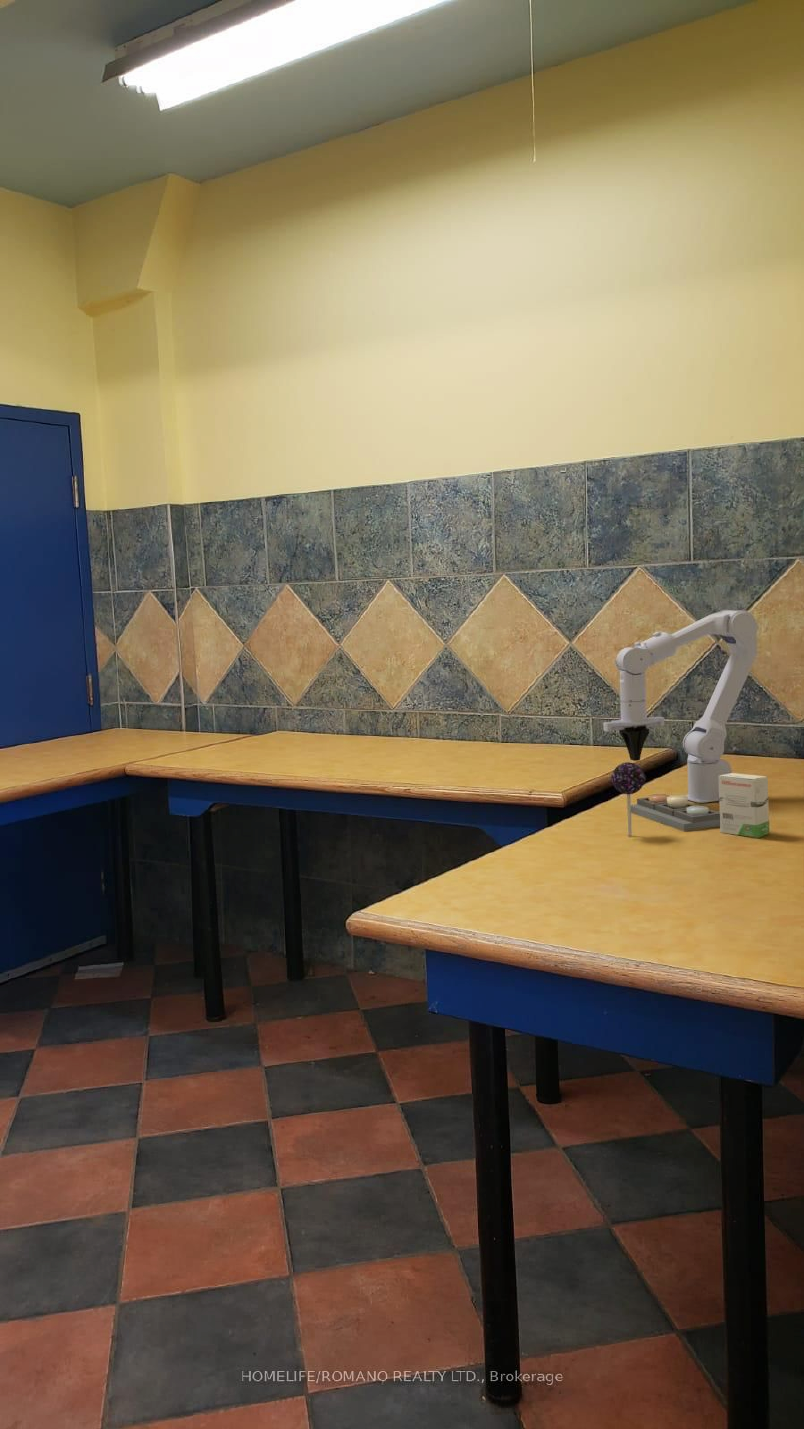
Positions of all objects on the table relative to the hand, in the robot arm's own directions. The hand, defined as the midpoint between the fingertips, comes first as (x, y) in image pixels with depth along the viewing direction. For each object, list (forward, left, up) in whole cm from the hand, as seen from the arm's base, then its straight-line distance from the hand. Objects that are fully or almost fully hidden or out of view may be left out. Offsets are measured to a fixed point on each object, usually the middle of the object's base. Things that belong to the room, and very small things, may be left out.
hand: (635, 760), depth 246 cm
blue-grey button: (-1, +24, -9) cm, 26 cm away
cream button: (-1, +16, -8) cm, 18 cm away
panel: (-1, +17, -10) cm, 20 cm away
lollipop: (+16, +25, -11) cm, 32 cm away
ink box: (-4, +35, -11) cm, 37 cm away
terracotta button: (0, +9, -9) cm, 12 cm away
